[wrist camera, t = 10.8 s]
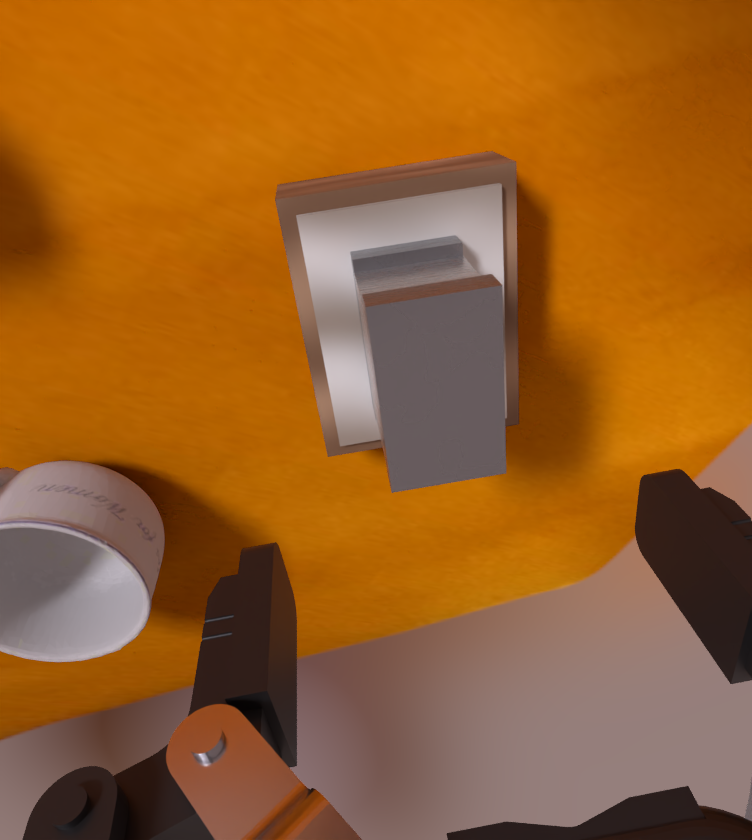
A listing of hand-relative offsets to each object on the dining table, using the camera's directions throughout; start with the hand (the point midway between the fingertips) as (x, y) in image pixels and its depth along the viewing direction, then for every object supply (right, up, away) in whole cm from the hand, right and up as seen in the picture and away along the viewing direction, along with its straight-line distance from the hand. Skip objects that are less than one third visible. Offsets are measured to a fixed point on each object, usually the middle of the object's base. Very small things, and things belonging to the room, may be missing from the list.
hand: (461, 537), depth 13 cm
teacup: (-21, -2, +25) cm, 33 cm away
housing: (0, +7, +17) cm, 19 cm away
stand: (0, +9, +21) cm, 23 cm away
